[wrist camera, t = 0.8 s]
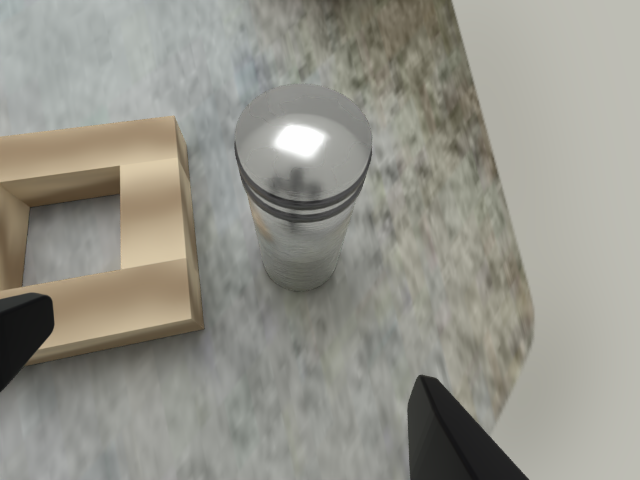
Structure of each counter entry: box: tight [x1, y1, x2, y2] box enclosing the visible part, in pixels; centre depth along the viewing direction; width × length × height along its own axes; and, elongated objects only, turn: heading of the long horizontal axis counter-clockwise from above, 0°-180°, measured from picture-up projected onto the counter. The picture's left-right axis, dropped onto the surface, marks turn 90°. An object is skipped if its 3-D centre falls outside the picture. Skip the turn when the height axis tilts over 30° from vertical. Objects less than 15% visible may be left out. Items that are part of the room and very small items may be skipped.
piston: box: [235, 84, 372, 291], centre depth 19 cm, size 5×5×12 cm
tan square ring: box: [0, 116, 204, 366], centre depth 22 cm, size 14×14×3 cm
